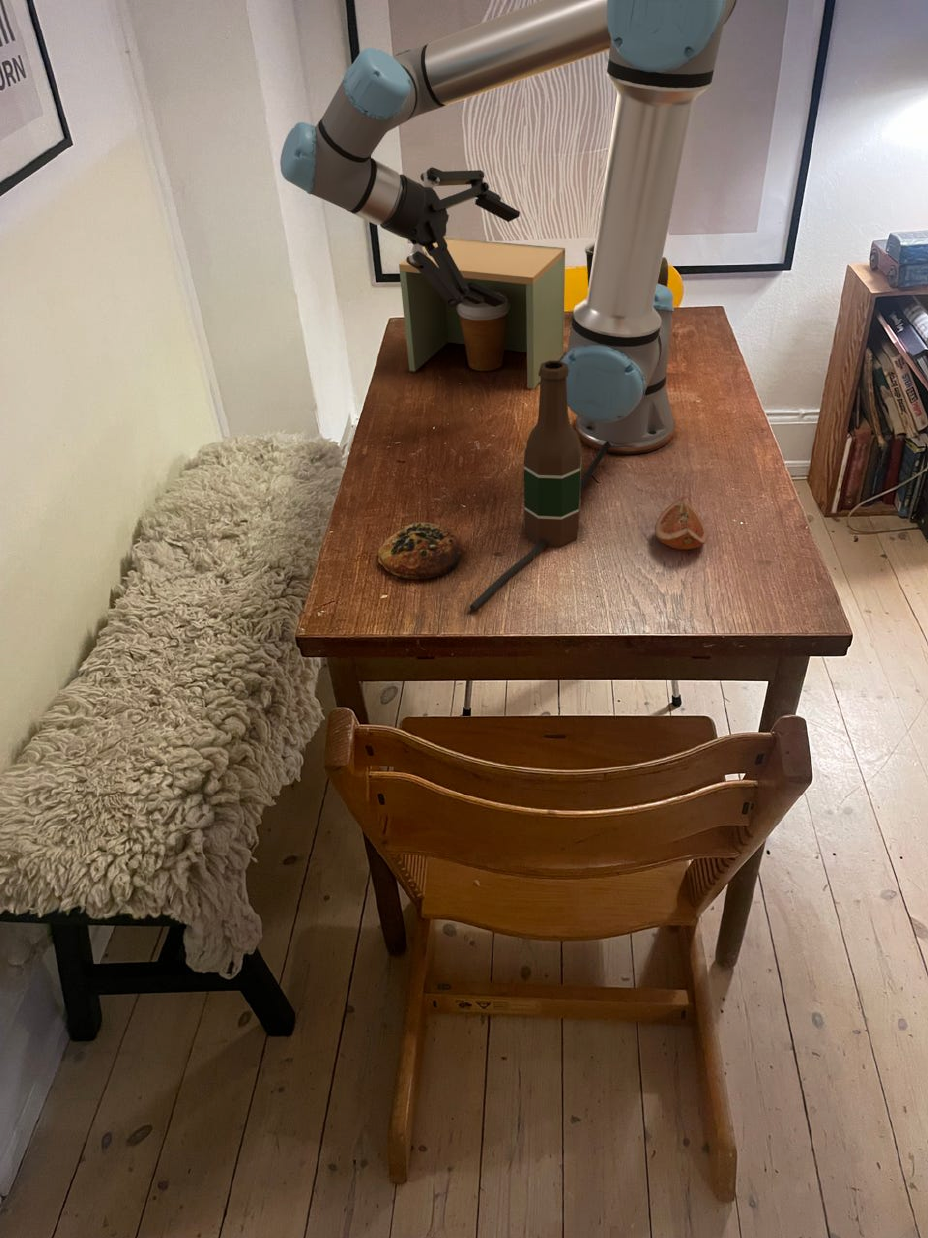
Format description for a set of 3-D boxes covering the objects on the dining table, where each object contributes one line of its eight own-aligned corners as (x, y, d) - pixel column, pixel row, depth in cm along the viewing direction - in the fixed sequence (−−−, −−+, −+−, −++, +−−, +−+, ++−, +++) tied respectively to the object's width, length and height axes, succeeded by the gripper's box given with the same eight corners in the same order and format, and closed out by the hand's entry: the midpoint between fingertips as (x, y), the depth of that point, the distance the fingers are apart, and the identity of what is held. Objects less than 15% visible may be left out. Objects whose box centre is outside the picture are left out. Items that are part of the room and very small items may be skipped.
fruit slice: (708, 564, 116) (713, 531, 113) (654, 562, 117) (657, 530, 114) (703, 527, 123) (707, 496, 119) (652, 526, 123) (655, 495, 120)
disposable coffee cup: (512, 373, 163) (510, 307, 156) (459, 376, 164) (455, 310, 156) (511, 352, 171) (509, 288, 163) (460, 354, 171) (456, 290, 164)
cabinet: (533, 389, 158) (532, 277, 146) (409, 370, 167) (398, 263, 155) (563, 354, 168) (565, 247, 156) (445, 339, 177) (438, 236, 165)
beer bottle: (564, 554, 119) (568, 383, 104) (513, 539, 123) (509, 371, 108) (590, 525, 124) (597, 357, 109) (540, 511, 128) (540, 346, 113)
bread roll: (455, 584, 115) (447, 550, 112) (372, 588, 118) (363, 556, 115) (470, 537, 124) (463, 505, 121) (393, 542, 127) (385, 511, 124)
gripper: (390, 125, 131) (505, 189, 143) (361, 292, 129) (479, 343, 141) (418, 103, 125) (535, 172, 137) (387, 278, 123) (509, 333, 135)
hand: (507, 259), depth 139 cm, fingers open, 13 cm apart
